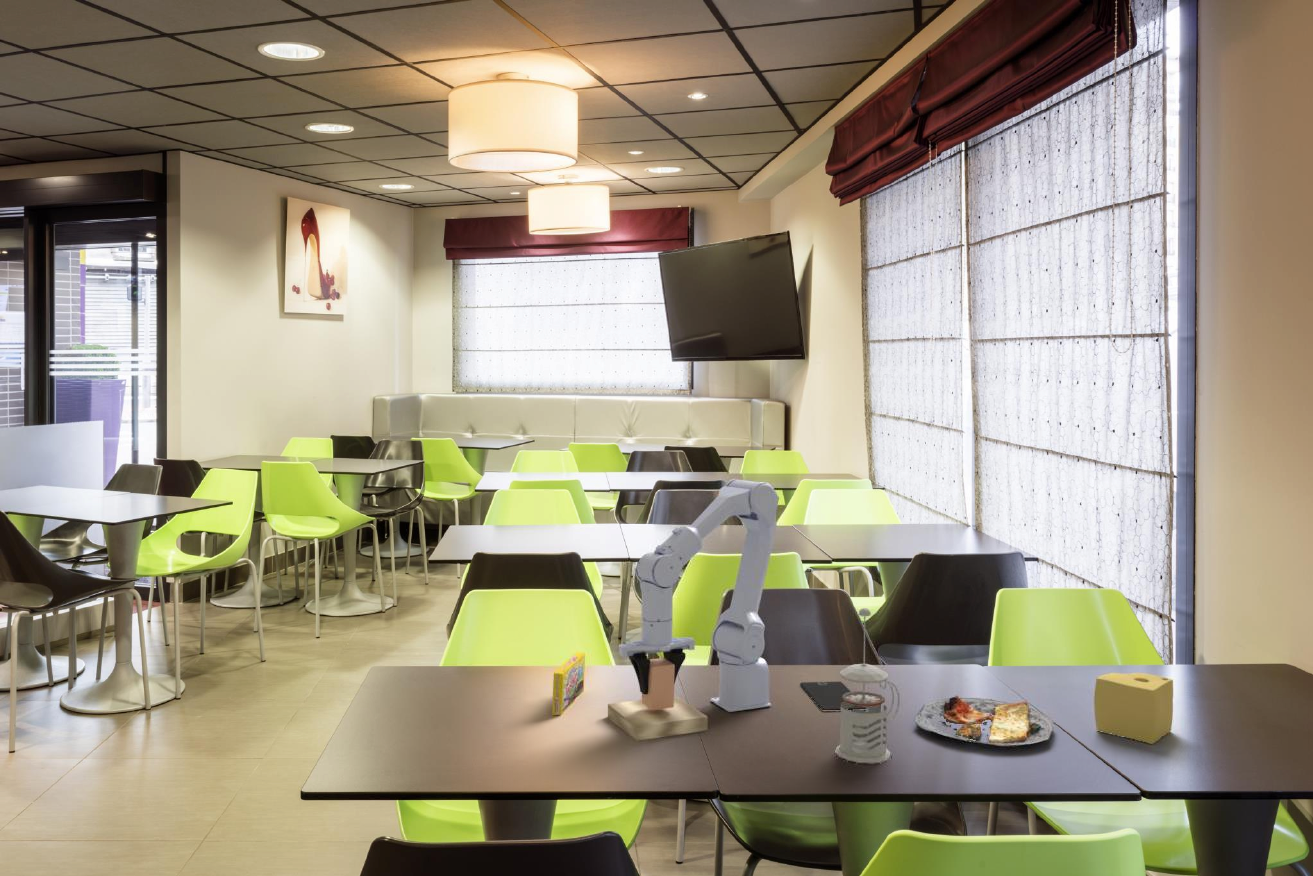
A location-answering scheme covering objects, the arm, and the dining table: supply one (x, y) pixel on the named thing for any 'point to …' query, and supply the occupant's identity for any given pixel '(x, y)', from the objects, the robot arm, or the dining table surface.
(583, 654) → the candy box
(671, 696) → the terracotta block
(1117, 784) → the dining table surface
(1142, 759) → the dining table surface
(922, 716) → the food plate
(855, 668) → the french press
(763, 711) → the dining table surface
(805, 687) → the cell phone
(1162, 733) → the cheese
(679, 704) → the birch block
